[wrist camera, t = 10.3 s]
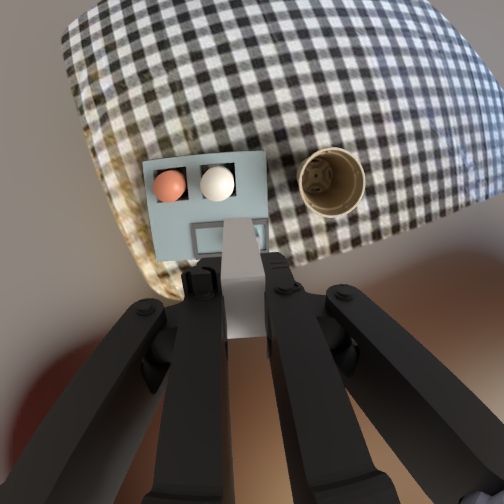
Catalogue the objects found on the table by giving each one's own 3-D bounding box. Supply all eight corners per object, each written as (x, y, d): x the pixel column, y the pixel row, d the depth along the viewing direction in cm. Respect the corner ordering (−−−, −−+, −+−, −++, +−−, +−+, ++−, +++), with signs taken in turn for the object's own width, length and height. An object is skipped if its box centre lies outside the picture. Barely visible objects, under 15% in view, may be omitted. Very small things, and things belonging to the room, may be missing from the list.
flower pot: (275, 161, 41) (286, 166, 33) (327, 136, 40) (349, 136, 32) (301, 213, 44) (317, 229, 36) (349, 187, 43) (374, 198, 35)
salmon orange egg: (158, 170, 39) (151, 173, 35) (186, 167, 39) (181, 170, 36) (161, 198, 41) (154, 204, 37) (188, 195, 41) (184, 201, 37)
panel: (147, 160, 39) (141, 162, 36) (263, 150, 40) (266, 150, 37) (160, 255, 45) (156, 263, 42) (266, 248, 46) (269, 255, 43)
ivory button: (201, 167, 38) (198, 169, 34) (232, 164, 38) (233, 167, 34) (204, 196, 39) (201, 202, 36) (234, 194, 40) (235, 200, 36)
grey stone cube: (238, 229, 42) (239, 238, 38) (256, 228, 42) (259, 237, 38) (239, 246, 43) (240, 257, 39) (257, 245, 43) (260, 256, 39)
